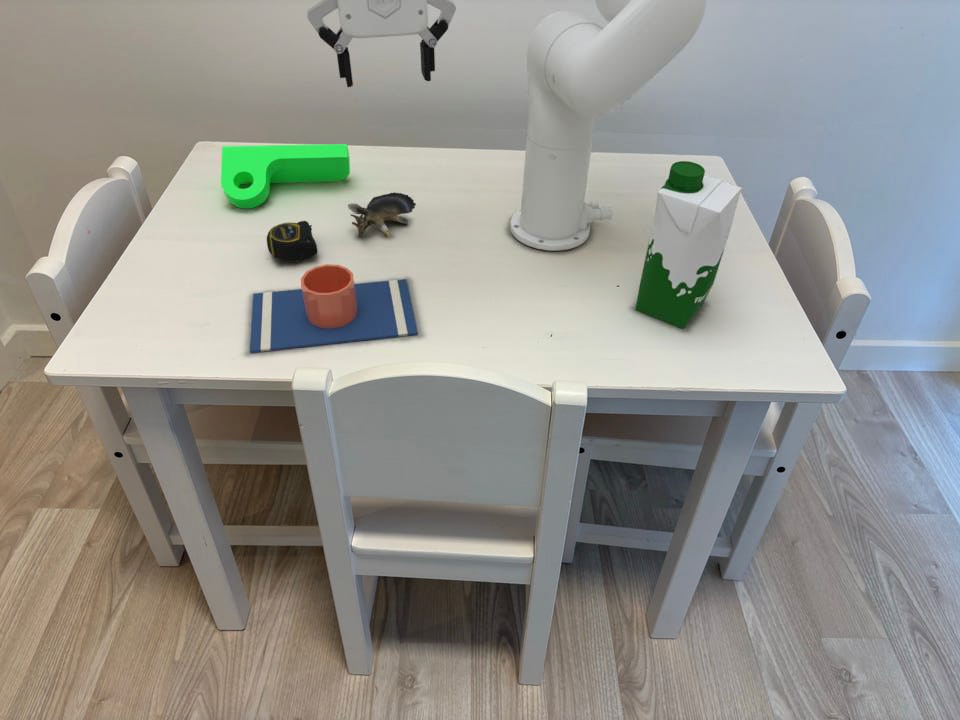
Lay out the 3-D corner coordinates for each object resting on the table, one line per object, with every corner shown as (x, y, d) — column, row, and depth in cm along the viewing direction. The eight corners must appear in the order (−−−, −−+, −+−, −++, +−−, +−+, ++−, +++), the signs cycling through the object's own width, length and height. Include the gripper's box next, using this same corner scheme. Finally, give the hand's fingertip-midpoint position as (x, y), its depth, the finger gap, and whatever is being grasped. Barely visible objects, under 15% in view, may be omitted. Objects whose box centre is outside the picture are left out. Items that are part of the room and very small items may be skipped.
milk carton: (652, 280, 99) (683, 150, 86) (712, 303, 96) (754, 171, 82) (625, 310, 94) (654, 176, 81) (688, 336, 90) (729, 200, 77)
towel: (406, 281, 98) (406, 278, 98) (417, 334, 89) (417, 332, 89) (253, 295, 94) (253, 293, 94) (250, 353, 86) (249, 350, 85)
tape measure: (320, 262, 101) (316, 240, 98) (272, 270, 99) (267, 247, 96) (313, 238, 105) (310, 217, 103) (267, 244, 104) (263, 223, 101)
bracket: (232, 222, 115) (219, 200, 108) (234, 171, 118) (221, 146, 111) (353, 218, 117) (348, 196, 110) (351, 168, 120) (346, 143, 113)
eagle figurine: (379, 247, 102) (425, 217, 105) (353, 203, 99) (401, 174, 103) (360, 250, 108) (404, 222, 112) (336, 209, 106) (382, 182, 109)
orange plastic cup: (355, 295, 94) (351, 261, 91) (359, 326, 90) (355, 292, 86) (306, 300, 93) (300, 266, 90) (307, 331, 88) (301, 297, 85)
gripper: (293, -70, 70) (319, 97, 82) (460, -76, 73) (461, 86, 84) (292, -85, 75) (316, 74, 87) (447, -90, 78) (450, 64, 90)
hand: (388, 80), depth 86 cm, fingers open, 9 cm apart
